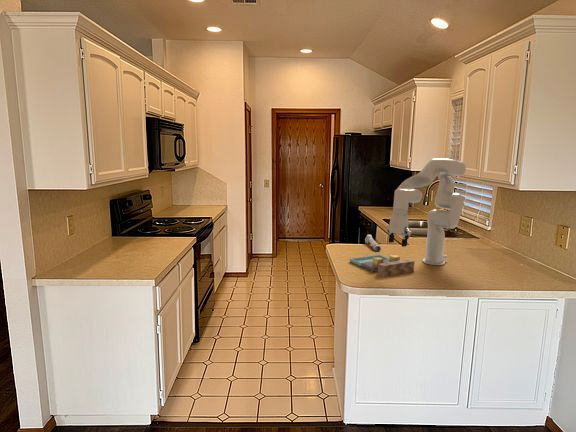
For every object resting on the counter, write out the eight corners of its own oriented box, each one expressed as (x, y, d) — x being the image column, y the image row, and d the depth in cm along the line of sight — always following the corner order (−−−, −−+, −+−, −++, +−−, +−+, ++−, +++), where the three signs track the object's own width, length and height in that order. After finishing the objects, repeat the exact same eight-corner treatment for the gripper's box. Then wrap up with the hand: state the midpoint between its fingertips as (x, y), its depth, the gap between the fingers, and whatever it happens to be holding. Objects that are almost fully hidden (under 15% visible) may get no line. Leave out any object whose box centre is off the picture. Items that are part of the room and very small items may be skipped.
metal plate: (391, 262, 239) (391, 258, 238) (403, 267, 230) (404, 263, 230) (361, 267, 228) (361, 262, 228) (373, 272, 220) (373, 267, 219)
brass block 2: (394, 261, 232) (395, 254, 231) (399, 263, 229) (400, 256, 228) (389, 262, 230) (389, 255, 230) (394, 264, 227) (394, 257, 226)
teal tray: (379, 258, 248) (379, 254, 248) (391, 262, 239) (391, 259, 239) (349, 262, 238) (349, 258, 237) (361, 267, 229) (361, 263, 228)
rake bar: (408, 269, 227) (409, 259, 226) (413, 271, 224) (414, 261, 223) (377, 274, 217) (378, 263, 216) (382, 276, 213) (383, 265, 212)
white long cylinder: (374, 245, 263) (364, 232, 287) (373, 255, 266) (363, 241, 289) (382, 245, 264) (372, 232, 288) (381, 255, 266) (371, 241, 290)
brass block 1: (378, 264, 226) (378, 257, 226) (382, 266, 223) (383, 259, 222) (372, 264, 225) (372, 257, 224) (377, 266, 221) (377, 259, 220)
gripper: (383, 210, 220) (381, 241, 223) (407, 215, 205) (404, 248, 208) (394, 209, 224) (391, 240, 226) (417, 214, 209) (414, 247, 211)
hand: (397, 244), depth 217 cm, fingers open, 9 cm apart
